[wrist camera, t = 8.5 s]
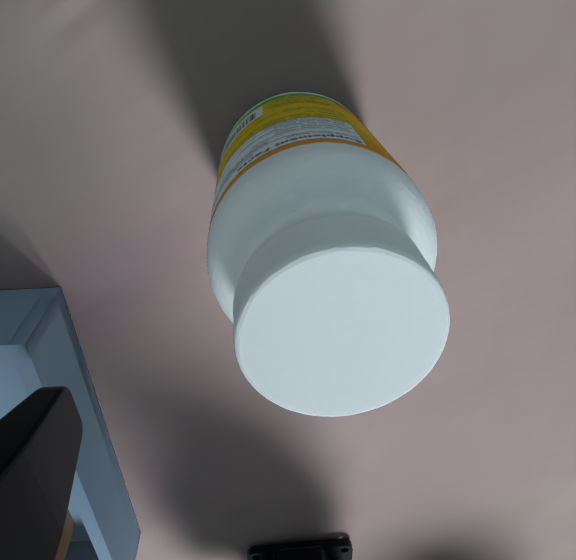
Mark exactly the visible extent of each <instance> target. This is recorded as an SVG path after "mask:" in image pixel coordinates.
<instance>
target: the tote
mask: <svg viewBox="0 0 576 560" xmlns="http://www.w3.org/2000/svg"><path fill="white" fill-rule="evenodd" d="M51 386H66V387H68V388H69V389H70V391H71V393H72V395H73V398H74V401H75V403H76V406H77V409H78V412H79V415H80V417H81V420H82V425H83V435H82V441H81V446H80V451H79V456H78V461H77V466H76V471H75V476H74V481H73V486H72V491H71V496H70V501H69V506H68V510H69V512H70V514H71V516H72V518H73V521H74V523H75V528H74V531H73V534H72V538H71V541H70V544H69V547H68V550H67V553H66V556H65V559H64V560H135V559H136V554H137V549H138V544H139V539H140V533H141V532H140V529H139V526H138V523H137V520H136V517H135V514H134V511H133V508H132V504H131V501H130V498H129V495H128V492H127V489H126V486H125V483H124V480H123V477H122V474H121V471H120V468H119V465H118V461H117V458H116V455H115V452H114V449H113V446H112V443H111V440H110V437H109V434H108V431H107V428H106V425H105V422H104V418H103V415H102V412H101V409H100V406H99V403H98V400H97V397H96V394H95V391H94V388H93V385H92V382H91V379H90V375H89V372H88V369H87V366H86V363H85V360H84V357H83V354H82V351H81V348H80V345H79V342H78V339H77V336H76V332H75V329H74V326H73V323H72V320H71V317H70V314H69V311H68V308H67V305H66V302H65V299H64V296H63V293H62V289H61V287H56V288H37V289H18V290H0V419H1V418H2V417H3V416H5V415H6V414H7V413H8V412H10V411H11V410H12V409H13V408H14V407H16V406H17V405H18V404H19V403H21V402H22V401H23V400H24V399H25V398H27V397H28V396H29V395H30V394H32V393H33V392H34V391H35V390H37V389H39V388H42V387H51Z"/></svg>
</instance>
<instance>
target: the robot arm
mask: <svg viewBox="0 0 576 560" xmlns="http://www.w3.org/2000/svg"><path fill="white" fill-rule="evenodd" d="M82 435H83V425H82V420H81V417H80V415H79V412H78V409H77V406H76V403H75V401H74V398H73V395H72V393H71V391H70V389H69V388H68V387H66V386H51V387H42V388H39V389H37V390H35V391H34V392H33V393H32V394H30V395H29V396H28V397H27V398H25V399H24V400H23V401H22V402H21V403H19V404H18V405H17V406H16V407H14V408H13V409H12V410H11V411H10V412H8V413H7V414H6V415H5V416H3V417H2V418H1V419H0V560H55V557H56V554H57V550H58V547H59V543H60V540H61V537H62V533H63V529H64V524H65V520H66V516H67V511H68V506H69V501H70V496H71V491H72V486H73V481H74V476H75V471H76V466H77V461H78V456H79V451H80V446H81V441H82ZM352 550H353V549H352V544H351V541H350V540H347V539H343V540H331V541H318V542H306V543H294V544H282V545H270V546H258V547H252V548H250V549H249V550H248V560H352Z"/></svg>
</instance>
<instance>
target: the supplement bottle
mask: <svg viewBox="0 0 576 560" xmlns="http://www.w3.org/2000/svg"><path fill="white" fill-rule="evenodd" d="M436 256H437V235H436V228H435V223H434V219H433V216H432V214H431V211H430V208H429V206H428V204H427V202H426V200H425V198H424V197H423V195H422V193H421V192H420V191H419V189H418V188H417V186H416V185H415V183H414V182H413V181H412V179H411V178H410V177H409V176H408V175H407V173H406V172H405V171H404V170H403V169H402V168H401V167H400V165H399V164H398V163H397V162H396V161H395V160H394V159H393V157H392V156H391V155H390V154H389V153H388V152H387V151H386V149H385V148H384V147H383V146H382V145H381V144H380V143H379V142H378V141H377V139H376V138H375V137H374V136H373V135H372V133H371V132H370V131H369V130H368V129H367V128H366V126H365V125H364V124H363V123H362V122H361V121H360V120H359V119H358V118H357V117H356V116H355V115H354V114H353V113H352V112H351V111H350V110H349V109H347V108H346V107H345V106H344V105H342V104H340V103H339V102H337V101H335V100H333V99H331V98H329V97H326V96H323V95H320V94H315V93H310V92H289V93H283V94H278V95H275V96H272V97H270V98H268V99H266V100H264V101H262V102H260V103H258V104H257V105H255V106H254V107H252V108H251V109H250V110H249V111H247V112H246V113H245V114H244V115H243V116H242V117H241V118H240V119H239V120H238V122H237V123H236V124H235V125H234V127H233V129H232V130H231V132H230V134H229V136H228V138H227V140H226V142H225V145H224V148H223V151H222V154H221V159H220V164H219V171H218V177H217V184H216V190H215V197H214V203H213V209H212V216H211V221H210V227H209V233H208V243H207V266H208V274H209V279H210V283H211V286H212V289H213V292H214V294H215V297H216V299H217V301H218V303H219V305H220V307H221V308H222V310H223V311H224V313H225V314H226V316H227V317H228V318H229V319H230V320H231V322H232V323H233V324H234V326H233V340H234V350H235V354H236V358H237V361H238V363H239V366H240V369H241V370H242V372H243V374H244V376H245V377H246V379H247V380H248V381H249V383H250V384H251V385H252V386H253V387H254V389H256V390H257V391H258V392H259V393H260V394H261V395H263V396H264V397H265V398H267V399H268V400H270V401H271V402H273V403H275V404H277V405H279V406H281V407H283V408H285V409H288V410H291V411H294V412H298V413H302V414H306V415H312V416H326V417H335V416H347V415H353V414H358V413H362V412H366V411H370V410H373V409H376V408H378V407H381V406H383V405H386V404H388V403H390V402H392V401H394V400H395V399H397V398H399V397H401V396H402V395H404V394H405V393H407V392H408V391H410V390H411V389H412V388H413V387H415V386H416V385H417V384H418V383H419V382H420V381H421V380H422V379H423V378H424V377H425V376H426V375H427V374H428V373H429V372H430V370H431V369H432V368H433V367H434V365H435V363H436V362H437V360H438V359H439V357H440V355H441V353H442V351H443V349H444V347H445V344H446V340H447V337H448V333H449V325H450V312H449V305H448V302H447V298H446V295H445V292H444V289H443V287H442V285H441V283H440V282H439V280H438V278H437V277H436V275H435V273H434V268H435V263H436Z"/></svg>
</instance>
